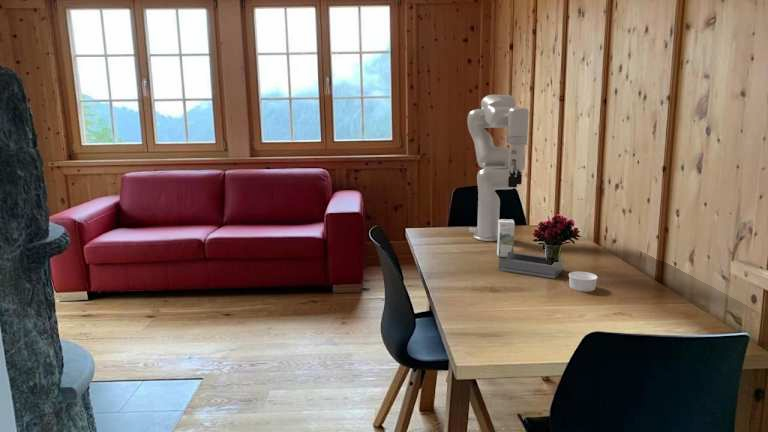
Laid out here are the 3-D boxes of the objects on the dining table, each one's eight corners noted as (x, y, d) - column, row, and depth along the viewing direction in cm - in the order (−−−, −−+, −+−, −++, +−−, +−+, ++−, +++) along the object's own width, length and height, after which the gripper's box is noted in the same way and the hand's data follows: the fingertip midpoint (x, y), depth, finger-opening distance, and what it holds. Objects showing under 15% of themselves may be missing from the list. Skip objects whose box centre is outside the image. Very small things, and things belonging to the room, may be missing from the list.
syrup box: (511, 254, 218) (512, 218, 215) (513, 258, 212) (514, 221, 210) (496, 253, 219) (498, 218, 216) (498, 257, 213) (499, 221, 210)
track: (498, 270, 197) (498, 259, 196) (509, 261, 208) (509, 251, 207) (554, 278, 187) (555, 267, 186) (562, 269, 198) (563, 258, 197)
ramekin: (598, 293, 172) (600, 280, 172) (569, 291, 174) (570, 278, 173) (594, 284, 181) (595, 272, 180) (566, 283, 183) (567, 270, 182)
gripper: (523, 142, 197) (520, 189, 200) (530, 140, 213) (528, 183, 216) (502, 141, 200) (500, 187, 203) (511, 139, 216) (509, 182, 219)
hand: (514, 185), depth 210 cm, fingers open, 9 cm apart
